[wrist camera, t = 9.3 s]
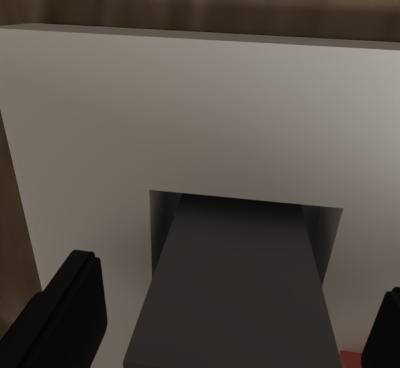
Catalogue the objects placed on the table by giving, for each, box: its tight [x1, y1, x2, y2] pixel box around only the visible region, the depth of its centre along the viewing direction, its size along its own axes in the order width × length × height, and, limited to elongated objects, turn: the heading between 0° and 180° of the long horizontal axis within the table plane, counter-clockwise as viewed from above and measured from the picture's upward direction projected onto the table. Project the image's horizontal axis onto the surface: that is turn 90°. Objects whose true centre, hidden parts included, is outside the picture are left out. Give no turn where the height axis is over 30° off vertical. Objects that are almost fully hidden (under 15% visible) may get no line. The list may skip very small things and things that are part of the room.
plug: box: [123, 193, 342, 368], centre depth 10 cm, size 4×4×8 cm
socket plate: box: [0, 23, 400, 368], centre depth 12 cm, size 14×14×3 cm
